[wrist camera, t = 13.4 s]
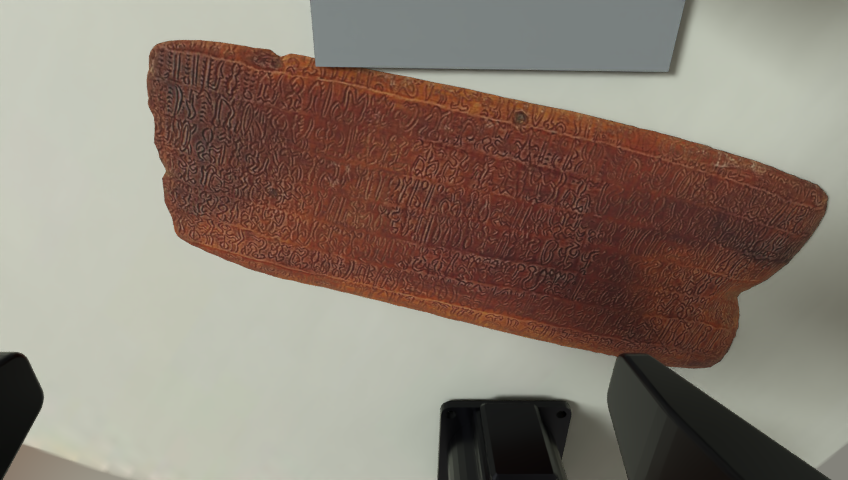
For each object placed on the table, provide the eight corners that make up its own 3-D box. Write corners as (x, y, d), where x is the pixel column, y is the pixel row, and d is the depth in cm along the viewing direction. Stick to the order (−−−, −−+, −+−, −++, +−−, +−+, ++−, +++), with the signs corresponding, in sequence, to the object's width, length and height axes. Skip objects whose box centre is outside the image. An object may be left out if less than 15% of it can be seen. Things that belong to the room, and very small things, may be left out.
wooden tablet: (828, 176, 20) (862, 191, 18) (704, 360, 24) (723, 384, 23) (153, -10, 16) (127, -11, 15) (151, 245, 21) (130, 264, 19)
